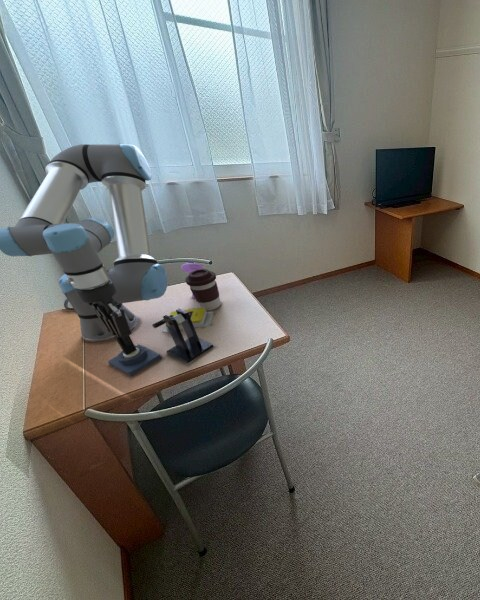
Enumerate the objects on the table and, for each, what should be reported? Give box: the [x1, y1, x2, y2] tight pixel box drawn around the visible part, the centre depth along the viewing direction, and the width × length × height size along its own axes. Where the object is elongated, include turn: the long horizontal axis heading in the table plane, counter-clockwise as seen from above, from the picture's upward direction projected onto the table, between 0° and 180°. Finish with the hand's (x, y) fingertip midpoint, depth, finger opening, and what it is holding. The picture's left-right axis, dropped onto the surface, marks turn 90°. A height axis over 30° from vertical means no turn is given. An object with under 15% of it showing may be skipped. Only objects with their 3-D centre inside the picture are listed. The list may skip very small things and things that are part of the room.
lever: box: [151, 314, 185, 329], centre depth 99 cm, size 12×6×2 cm, turn 64°
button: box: [123, 348, 140, 358], centre depth 97 cm, size 4×4×2 cm
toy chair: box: [181, 262, 205, 299], centre depth 131 cm, size 8×9×15 cm
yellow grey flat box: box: [162, 307, 214, 333], centre depth 116 cm, size 9×4×15 cm
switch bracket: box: [162, 308, 214, 364], centre depth 100 cm, size 10×9×15 cm
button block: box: [107, 344, 163, 377], centre depth 98 cm, size 11×9×4 cm
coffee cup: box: [184, 268, 221, 311], centre depth 122 cm, size 10×10×15 cm
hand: (130, 351), depth 96 cm, fingers closed
